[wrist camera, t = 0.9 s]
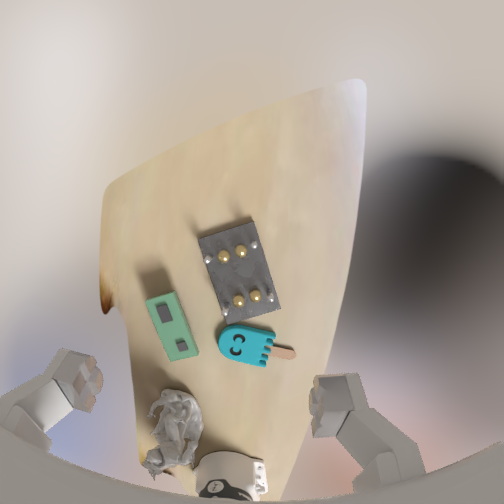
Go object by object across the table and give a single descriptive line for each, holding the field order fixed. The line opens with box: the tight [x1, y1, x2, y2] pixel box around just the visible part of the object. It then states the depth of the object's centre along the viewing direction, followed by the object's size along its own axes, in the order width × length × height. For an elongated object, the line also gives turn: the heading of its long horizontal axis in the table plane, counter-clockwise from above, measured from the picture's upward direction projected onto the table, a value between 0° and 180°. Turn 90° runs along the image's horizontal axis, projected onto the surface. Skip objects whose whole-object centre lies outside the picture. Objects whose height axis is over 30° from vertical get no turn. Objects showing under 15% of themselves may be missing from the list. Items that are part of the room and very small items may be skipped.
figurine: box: [143, 388, 204, 480], centre depth 45 cm, size 18×13×18 cm
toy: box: [218, 325, 296, 367], centre depth 51 cm, size 7×2×15 cm
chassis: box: [198, 221, 281, 325], centre depth 47 cm, size 16×10×6 cm, turn 17°
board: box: [145, 291, 199, 362], centre depth 47 cm, size 12×6×2 cm, turn 17°
